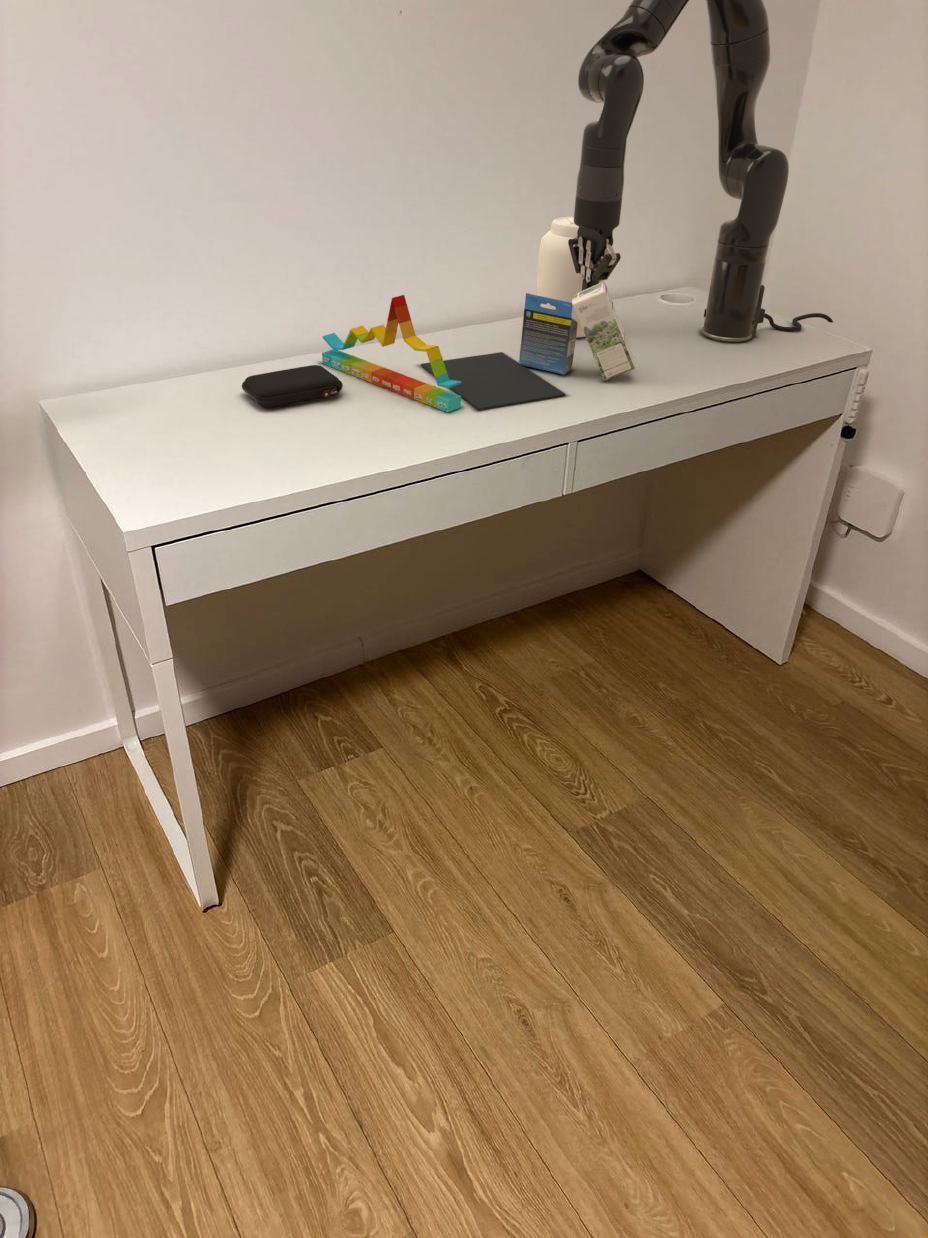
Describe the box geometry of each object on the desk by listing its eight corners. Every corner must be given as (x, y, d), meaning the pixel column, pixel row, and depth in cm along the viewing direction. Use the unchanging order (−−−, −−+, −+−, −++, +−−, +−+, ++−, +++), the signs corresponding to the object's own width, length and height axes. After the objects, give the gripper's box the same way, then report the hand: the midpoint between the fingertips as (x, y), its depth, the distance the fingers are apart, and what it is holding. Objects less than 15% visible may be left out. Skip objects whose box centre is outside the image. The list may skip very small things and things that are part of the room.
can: (538, 316, 194) (545, 210, 183) (601, 322, 192) (612, 214, 181) (529, 336, 184) (536, 224, 173) (595, 341, 182) (607, 229, 171)
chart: (321, 363, 169) (316, 275, 160) (335, 359, 171) (331, 271, 162) (446, 413, 152) (448, 316, 143) (460, 407, 154) (462, 312, 145)
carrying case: (264, 415, 149) (350, 398, 156) (262, 396, 147) (350, 380, 154) (239, 393, 156) (322, 377, 163) (237, 374, 155) (321, 360, 161)
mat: (501, 354, 175) (501, 351, 175) (565, 395, 159) (565, 393, 159) (420, 365, 169) (420, 363, 169) (478, 410, 153) (478, 408, 153)
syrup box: (635, 357, 167) (604, 279, 161) (636, 369, 162) (603, 288, 156) (604, 370, 169) (572, 293, 163) (604, 382, 164) (570, 303, 158)
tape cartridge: (572, 369, 169) (582, 298, 162) (564, 375, 166) (573, 302, 159) (526, 359, 172) (534, 288, 166) (517, 364, 169) (524, 292, 163)
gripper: (642, 200, 153) (628, 311, 163) (596, 185, 163) (586, 290, 173) (602, 203, 150) (590, 316, 160) (558, 188, 160) (549, 294, 170)
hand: (588, 302), depth 166 cm, fingers closed
